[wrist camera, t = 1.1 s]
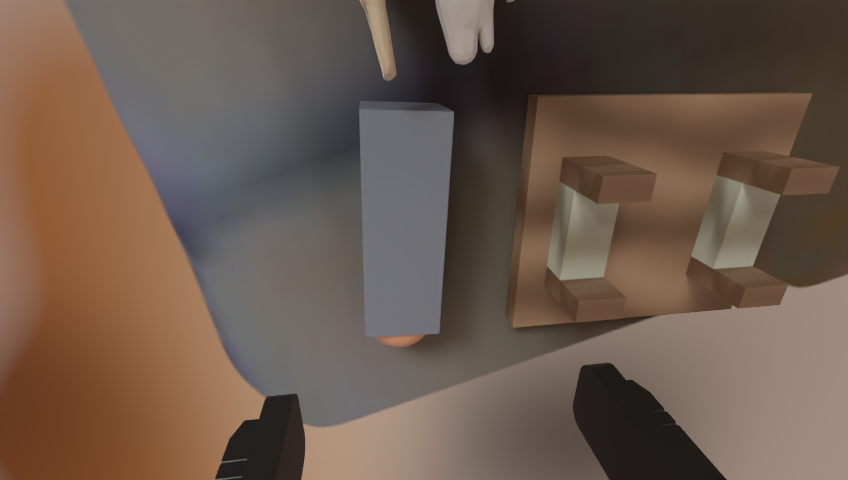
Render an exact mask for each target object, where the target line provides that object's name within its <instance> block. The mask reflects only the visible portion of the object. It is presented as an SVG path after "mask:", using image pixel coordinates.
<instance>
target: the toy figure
mask: <svg viewBox="0 0 848 480" xmlns="http://www.w3.org/2000/svg"><path fill="white" fill-rule="evenodd" d="M505 1H506V2H509V3H510V2H512V1H515V0H505ZM360 2H361V5H362V6H363V8H364V9H365V12H366V16H367V19H368V22H369V25H370V29H371V32H372V36H373V41H374V45H375V48H376V52H377V55H378V59H379V63H380V66H381V70H382V74H383V78H384V79H385V80H387V81H390V80H392V79H393V78H394V77H395V76H396V66H395V60H394V54H393V47H392V41H391V35H390V29H389V23H388V17H387V12H386V6H385V0H360ZM435 3H436V8H437V13H438V16H439V19H440V23H441V26H442V29H443V33H444V36H445V40H446V44H447V48H448V52H449V55H450V57H451V58H452V59H453V61H454V62H455V63H456V64H462V65H465V64H468V63H470V62H471V61H472V60H473V59H474V58H475V56H476V53H477V46H478V39H479V42H480V45H481V48H482V50H483V51H484V52H485V53H490V52H491V50H492V48H493V46H494V27H493V7H494V0H435Z"/></svg>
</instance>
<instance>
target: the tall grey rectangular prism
mask: <svg viewBox="0 0 848 480" xmlns="http://www.w3.org/2000/svg"><path fill="white" fill-rule="evenodd" d="M359 120H360V158H361V197H362V236H363V275H364V313H365V338H367V337H375V338H377V339H378V340H379V341H380V342H382V343H384V344H386V345H389V346H392V347H405V346H409V345H412V344H414V343H416V342H418V341H419V340H420V339H421V338H423V337H424V335H425V334H439V330H440V316H441V301H442V286H443V271H444V257H445V242H446V227H447V212H448V198H449V183H450V168H451V153H452V138H453V124H454V111H452V110H450V109H448V108H446V107H444V106H442V105H440V104H438V103H417V102H384V101H360V107H359Z"/></svg>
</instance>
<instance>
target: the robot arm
mask: <svg viewBox="0 0 848 480" xmlns="http://www.w3.org/2000/svg"><path fill="white" fill-rule="evenodd" d="M573 412H574V417H575V420H576V423H577V425H578V427H579V429H580V431H581V432H582V434H583V436H584V437H585V439H586V441H587V443H588V444H589V446H590V448H591V449H592V451H593V453H594V454H595V456H596V458H597V459H598V461H599V463H600V465H601V466H602V468H603V470H604V471H605V473H606V474H607V476H608V478H609V479H610V480H726V478H725V477H724V476H723V475H722V474H721V473H720V472H719V471H718V470H717V468H716V467H715V466H714V465H713V464H712V463H711V462H710V461H709V459H708V458H707V457H706V456H705V455H704V454H703V453H702V451H701V450H700V449H699V448H698V447H697V446H696V444H695V443H694V442H693V441H692V440H691V439H690V438H689V436H688V435H687V434H686V433H685V432H684V431H683V430H682V428H681V427H680V426H679V425H676V422H675V420H674V419H673V418H672V417H671V416H670V415H669V414H668V412H665V411H664V408H663V407H662V406H661V404H660V403H659V402H658V401H657V400H656V399H655V397H654V396H653V395H652V394H651V393H650V392H649V391H647V390H646V389H644V388H643V387H641V386H640V385H638V384H637V383H636V382H634V381H633V380H625V378H624V377H623V376H622V375H621V374H620V372H619V371H618V370H617V369H616V368H615V366H614V365H612V364H611V363H602V364H591V365H584V366H582V367H581V369H580V374H579V378H578V383H577V388H576V393H575V397H574V402H573ZM304 457H305V434H304V428H303V422H302V416H301V411H300V405H299V399H298V396H297V394H288V395H278V396H269V397H267V398H266V399H265V402H264V405H263V408H262V411H261V415H260V418H259V419H256V420H246V421H244V422H243V423H242V424H241V426H240V427H239V428H238V429H237V431H236V432H235V433H234V434H233V436H232V437H231V438H230V439H229V442H228V445H227V447H226V450H225V453H224V456H223V458H222V464H221V465H220V467H219V469H218V472H217V475H216V478H215V479H216V480H301V477H302V471H303V464H304Z"/></svg>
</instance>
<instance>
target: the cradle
mask: <svg viewBox="0 0 848 480" xmlns="http://www.w3.org/2000/svg"><path fill="white" fill-rule="evenodd" d="M811 96H812V94H808V93H792V92H767V93H671V94H574V95H528V102H527V112H526V122H525V132H524V141H523V151H522V161H521V171H520V181H519V191H518V200H517V210H516V220H515V230H514V240H513V250H512V259H511V269H510V279H509V289H508V299H507V309H506V317H507V319H508V321H509V323H510V324H511V326H512V328H516V327H528V326H539V325H551V324H562V323H573V322H575V323H577V322H589V321H600V320H611V319H622V318H630V317H642V316H653V315H665V314H675V313H687V312H699V311H710V310H722V309H731V307H732V305H734V306H735V307H737V308H748V307H760V306H770V305H779V304H780V302H781V300H782V298H783V295H784V293H785V291H786V289H787V286H788V284H786V283H784V282H782V281H780V280H778V279H776V278H774V277H773V276H771V275H769V274H767V273H765V272H763V271H761V270H759V269H757V268H755V267H753V264H754V261H755V259H756V256H757V254H758V251H759V249H760V246H761V243H762V241H763V238H764V236H765V233H766V230H767V228H768V225H769V223H770V220H771V218H772V215H773V212H774V210H775V207H776V205H777V202H778V199H779V197H780V195H799V194H820V193H829V191H830V188H831V186H832V184H833V181H834V179H835V177H836V175H837V172H838V170H839V168H840V167H838V166H833V165H828V164H824V163H819V162H814V161H810V160H805V159H800V158H796V157H791V156H789V154H790V151H791V149H792V146H793V144H794V141H795V138H796V136H797V133H798V130H799V128H800V125H801V123H802V120H803V117H804V115H805V112H806V109H807V107H808V104H809V101H810V99H811Z"/></svg>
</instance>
